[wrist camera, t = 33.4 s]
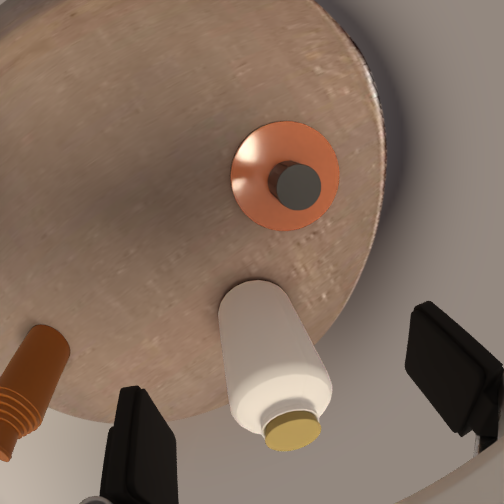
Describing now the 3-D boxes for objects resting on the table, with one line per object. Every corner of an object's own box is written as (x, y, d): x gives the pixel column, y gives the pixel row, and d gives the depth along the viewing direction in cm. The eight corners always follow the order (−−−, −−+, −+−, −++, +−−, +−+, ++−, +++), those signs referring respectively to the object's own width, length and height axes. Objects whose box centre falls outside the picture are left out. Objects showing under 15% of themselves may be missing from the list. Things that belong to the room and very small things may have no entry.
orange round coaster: (223, 127, 28) (223, 127, 27) (331, 118, 29) (335, 118, 29) (237, 236, 32) (238, 239, 32) (338, 220, 34) (341, 222, 33)
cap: (301, 206, 31) (313, 215, 28) (262, 195, 30) (270, 204, 27) (313, 167, 30) (327, 172, 27) (274, 155, 29) (284, 158, 26)
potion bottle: (256, 348, 38) (292, 471, 22) (202, 315, 35) (210, 449, 19) (303, 301, 37) (369, 416, 20) (250, 262, 34) (295, 381, 17)
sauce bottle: (21, 327, 32) (-41, 428, 15) (57, 321, 33) (-3, 435, 16) (42, 364, 35) (-3, 467, 18) (77, 361, 35) (37, 476, 18)
